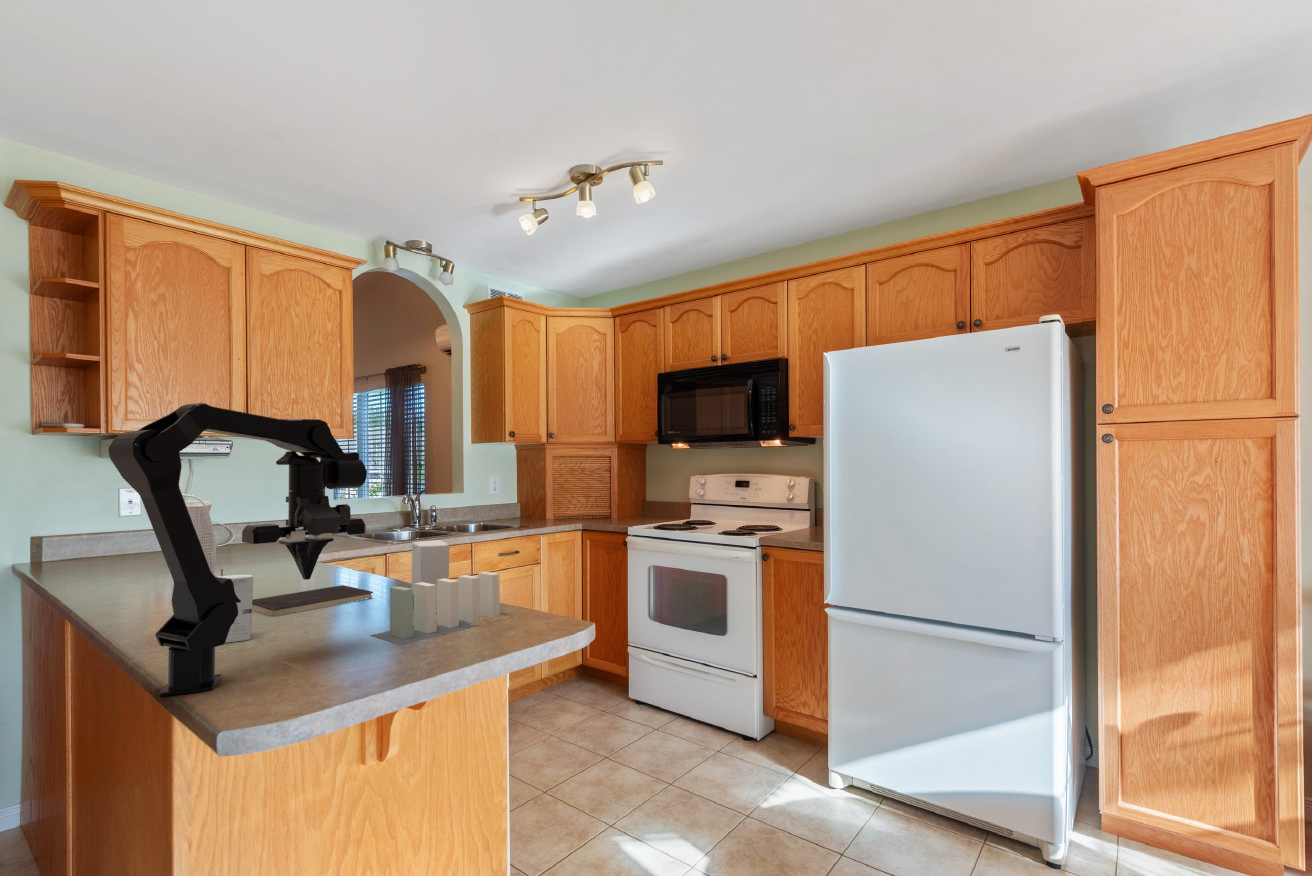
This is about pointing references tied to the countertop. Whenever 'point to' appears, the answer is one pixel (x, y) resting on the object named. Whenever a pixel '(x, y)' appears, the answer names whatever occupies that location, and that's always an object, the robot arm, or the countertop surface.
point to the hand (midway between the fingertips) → (306, 579)
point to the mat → (423, 633)
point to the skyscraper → (202, 530)
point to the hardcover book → (308, 600)
